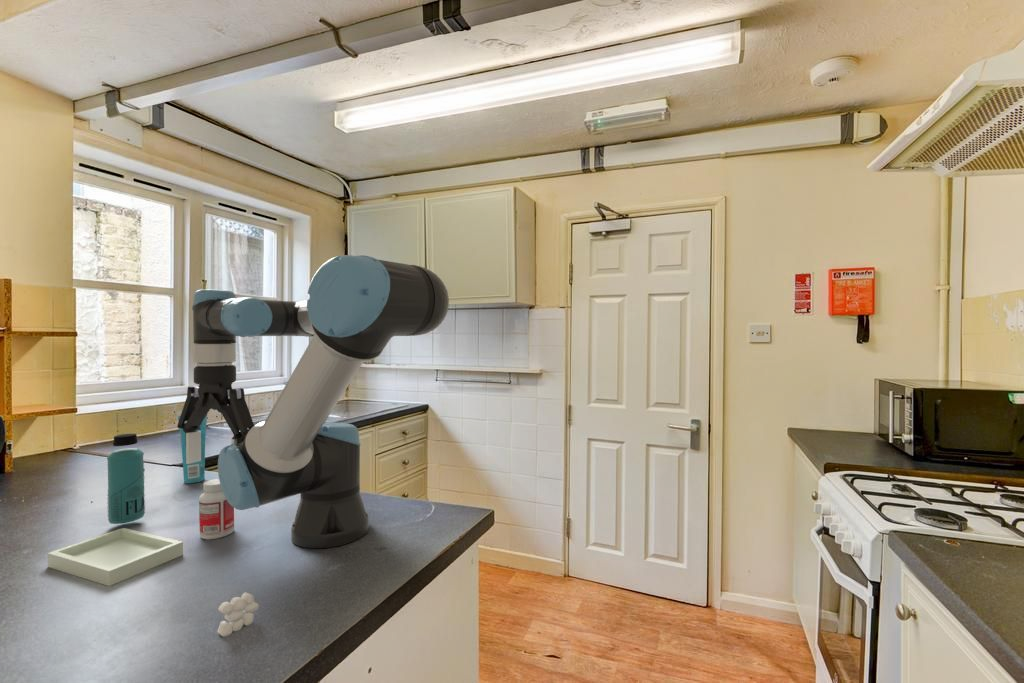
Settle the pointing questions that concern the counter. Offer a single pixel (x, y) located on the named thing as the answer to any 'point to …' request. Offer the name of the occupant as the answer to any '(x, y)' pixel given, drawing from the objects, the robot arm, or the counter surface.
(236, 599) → the white bumpy cluster
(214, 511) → the pill bottle
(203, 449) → the tube
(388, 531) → the counter surface
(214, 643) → the counter surface
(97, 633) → the counter surface
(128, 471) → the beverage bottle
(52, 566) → the tray
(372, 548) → the counter surface
